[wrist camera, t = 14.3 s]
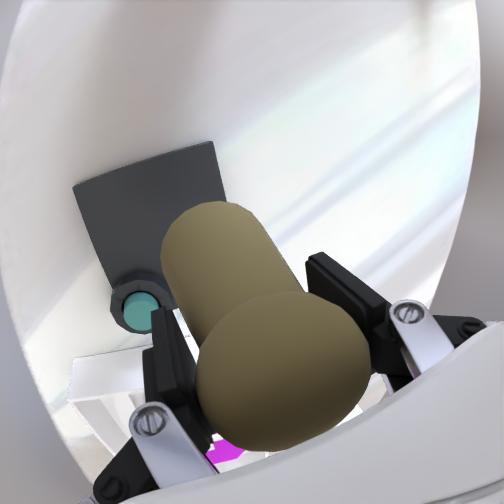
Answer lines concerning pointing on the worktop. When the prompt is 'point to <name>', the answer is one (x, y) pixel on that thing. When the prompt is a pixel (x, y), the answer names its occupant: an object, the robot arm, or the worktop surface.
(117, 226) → the scale
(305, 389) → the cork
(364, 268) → the worktop surface
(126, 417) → the white tray with pad
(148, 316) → the button
